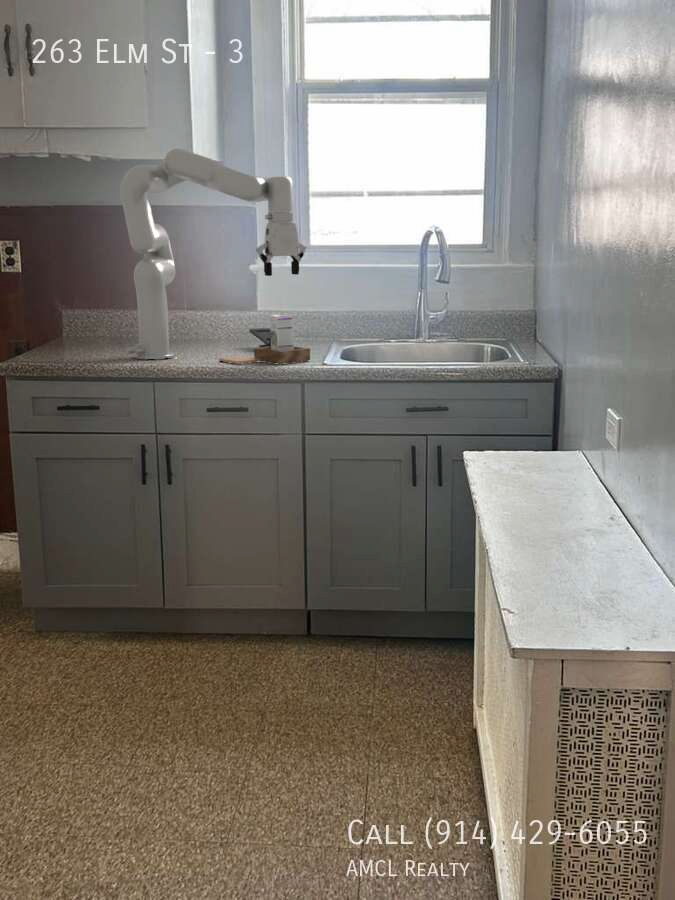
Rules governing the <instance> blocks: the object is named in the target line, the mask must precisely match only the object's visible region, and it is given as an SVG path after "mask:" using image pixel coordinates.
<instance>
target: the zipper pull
mask: <svg viewBox="0 0 675 900" xmlns="http://www.w3.org/2000/svg"><path fill="white" fill-rule="evenodd" d="M248 331H249V333H250V334H251V335H253V336H255V337H256V338H257V339H259V341H261V342H262V343H263V344H259V346H258V348H262V347H270V346H271V333H270V327H269V328H266V327H265V328H262V327H261V328H260V327H259V328H250V329H249V330H248Z"/></svg>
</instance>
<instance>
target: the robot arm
mask: <svg viewBox="0 0 675 900" xmlns="http://www.w3.org/2000/svg"><path fill="white" fill-rule="evenodd" d="M185 181H188V182H191V183H194V184H197V185H200V186H203V187H205V188H208V189H210V190H212V191H217V192H220V193H223V194H225V195H228V196H231V197H234V198H236V199H240V200H243V201H246V202H252V203H253V202H254V203H255V202H256V203H260V202H267V211H268V212H267V214H265V215H264V218H265V220H267V221H268V223H266V226H265V234H264V242H263V243H262V244H261V245H259V246H258V247H256V248H255V251H256V253H257V255H258V258H260V260H261V261H262V263H263V273H264V275H265V277H266V276H267V277H271V276H272V275H273V268H272V267H273V266H272V265H273V264H272V262H271V261H272V259H273V258H274V257H290V258H291V259H292V261H290V262H291V265H290V266H291V268H290V269H291V275H295V276H296V275H299V273H300V262H301V260H302V258H303V257H304V255H305V253H306V250H307V247H306V246H305V245H303V244H302V243H301V242H299V234H298V229H297V224H296V222H294V212H293V211H294V209H293V208H294V207H293V206H294V205H293V204H294V203H293V202H294V201H293V200H294V199H293V198H294V197H293V180H292V178H291V177H290V176H272V177H265V176H264V177H262V176H256V175H250V174H248V173H244V172H241V171H238V170H234V169H232V168H230V167H227V166H225V165H223V163H221V161H219V160H216V159H213V158H210V157H206V156H203V155H201V154H197V153H196V152H194V151H192V150H189V149H186V148H185V149H184V148H172V149H171V150H169V151H168V152H167V153H166V154H165V157H164V160H163V161H161V162H160V163H157V164H155V165H152V164H138V165H135V166H134V167H132V168H130V169H128V171H127V172H126V173H125V175H123V178H122V180H121V183H120V187H119V191H120V192H119V193H120V200H121V203H122V208H123V212H124V213H123V214H124V217H125V219H124V220H125V224H126V228H127V232H128V237H129V241H130V242H129V243H130V246H131V248H132V249H133V250H134V251H135V252H136V253H138V254H143V256H144V259H141V260H140V261H139V262H137V264H136V266H135V267H134V271H133V281H134V287H135V292H136V306H137V325H138V327H137V329H138V343H135V346H132V347H126V349H125V352H126V354H128V355H129V354H131V355H132V354H134V358H135V359H136V360H137V359H139V360H148V359H155V360H166V359H165V358H168V359H171V358H174V357H175V353H174V352H173V351H170V336H169V335H170V334H169V330H170V329H169V309H168V296H167V291H166V286H168V285H171V283H172V282H173V281H174V279H175V277H176V265H175V260H174V259H175V258H174V255H173V250H172V246H171V242H170V237H169V234H168V233H167V231H166V228H164V227H163V226H162V225H160V224H158V223H155V220H154V216H153V211H152V207H151V204H150V202H149V200H148V194H160V193H163V192H166V191H167V190H170V189H171V188H173V187H176V186H177V185H180V184H182V183H183V182H185ZM263 251H264V252H263ZM264 253H265V254H264Z"/></svg>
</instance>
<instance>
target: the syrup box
mask: <svg viewBox="0 0 675 900" xmlns="http://www.w3.org/2000/svg"><path fill="white" fill-rule="evenodd" d="M293 318H294V316H293V315H290V314H289V315H288V314H282V313H278V314H270V316H269V321H270V323H269V324H270V327H269V328H270V333H271V350H274V351H288V350H294V347H293V346H294V319H293Z"/></svg>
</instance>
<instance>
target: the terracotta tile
mask: <svg viewBox="0 0 675 900" xmlns="http://www.w3.org/2000/svg"><path fill="white" fill-rule="evenodd" d="M219 361H223V362H222V363H224V362H231V363H237V364H242V363H249V362H257V361H261V359H259V358H254V356H249V355H236V356H227V357H219V358H218V362H219ZM231 363H230V364H231ZM237 364H236V365H237ZM242 365H243V364H242Z"/></svg>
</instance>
